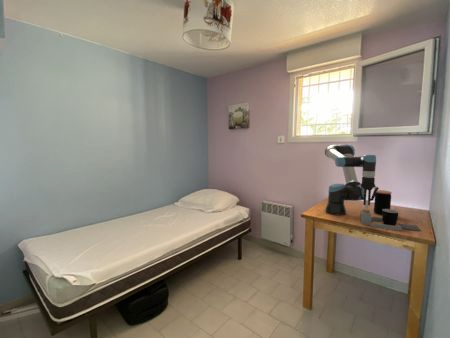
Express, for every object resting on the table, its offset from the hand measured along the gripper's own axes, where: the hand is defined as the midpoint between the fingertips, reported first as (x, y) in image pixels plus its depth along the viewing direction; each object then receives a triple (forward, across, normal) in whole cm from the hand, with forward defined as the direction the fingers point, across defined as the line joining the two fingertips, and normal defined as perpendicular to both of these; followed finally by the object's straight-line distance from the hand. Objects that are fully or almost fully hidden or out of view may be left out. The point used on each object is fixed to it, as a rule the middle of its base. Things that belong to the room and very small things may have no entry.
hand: (366, 209), depth 160 cm
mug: (+10, +13, 0) cm, 16 cm away
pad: (+10, +25, +1) cm, 27 cm away
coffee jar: (+10, +13, +29) cm, 33 cm away
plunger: (+5, 0, 0) cm, 5 cm away
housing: (+10, +8, 0) cm, 13 cm away
